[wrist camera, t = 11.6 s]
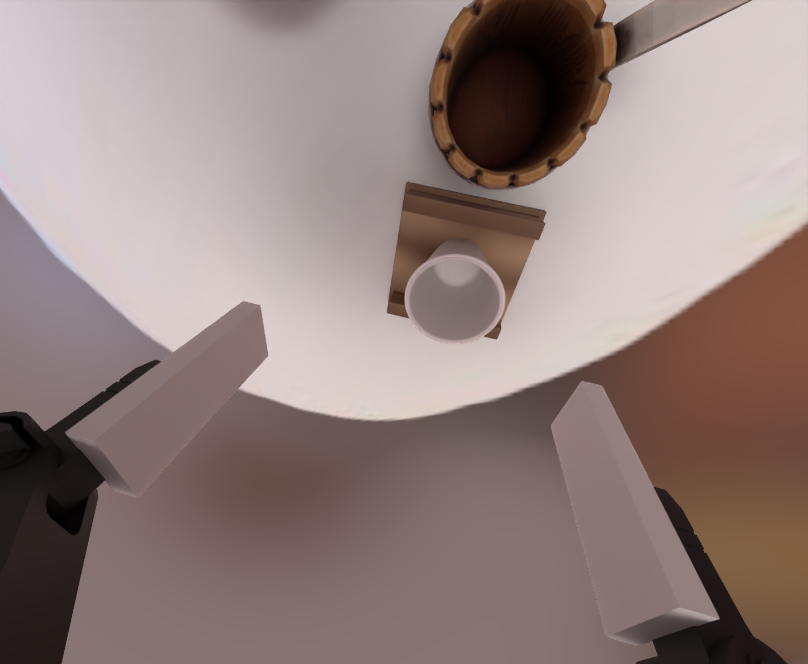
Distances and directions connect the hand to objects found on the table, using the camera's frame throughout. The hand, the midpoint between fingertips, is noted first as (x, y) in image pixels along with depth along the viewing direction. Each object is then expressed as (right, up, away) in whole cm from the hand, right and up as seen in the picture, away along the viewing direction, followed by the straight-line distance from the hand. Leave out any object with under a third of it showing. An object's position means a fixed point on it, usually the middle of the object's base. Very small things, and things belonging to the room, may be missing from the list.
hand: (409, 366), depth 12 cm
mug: (+10, +21, +13) cm, 27 cm away
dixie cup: (+6, +9, +21) cm, 23 cm away
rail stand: (+6, +9, +21) cm, 24 cm away
